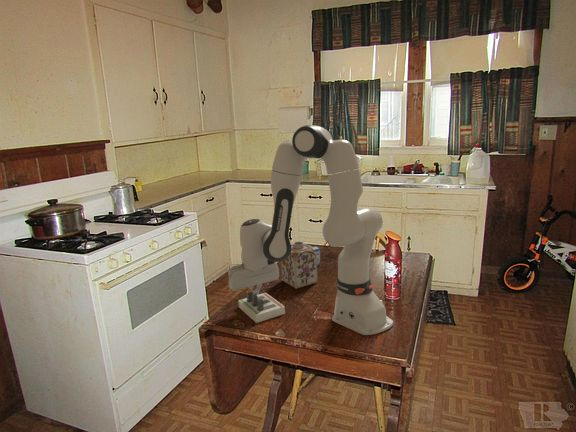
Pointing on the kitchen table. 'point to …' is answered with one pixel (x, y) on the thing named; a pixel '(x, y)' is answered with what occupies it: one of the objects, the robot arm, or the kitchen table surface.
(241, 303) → the breaker box
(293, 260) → the decorative jar
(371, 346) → the kitchen table surface
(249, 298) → the breaker handle
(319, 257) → the medicine box
